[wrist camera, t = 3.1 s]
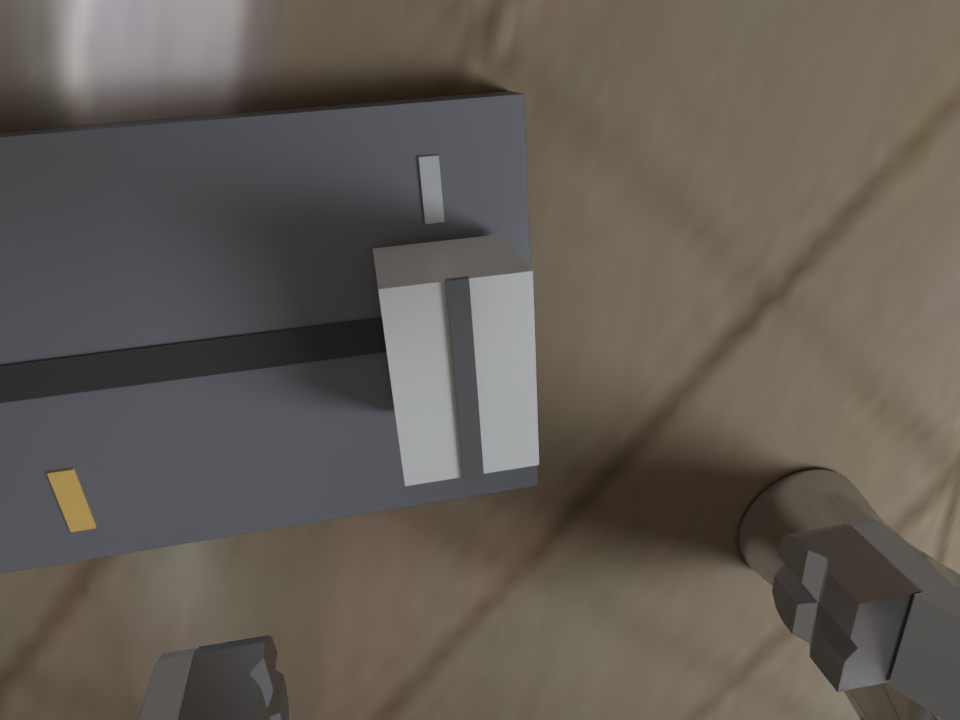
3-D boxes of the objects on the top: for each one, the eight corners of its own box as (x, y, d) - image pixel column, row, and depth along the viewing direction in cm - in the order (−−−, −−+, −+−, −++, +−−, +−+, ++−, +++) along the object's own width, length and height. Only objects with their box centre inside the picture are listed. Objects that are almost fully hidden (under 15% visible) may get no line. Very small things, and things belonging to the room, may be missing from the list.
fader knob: (501, 232, 21) (534, 270, 17) (510, 403, 24) (540, 469, 20) (372, 247, 20) (377, 289, 17) (396, 420, 23) (405, 490, 19)
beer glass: (712, 582, 32) (971, 955, 19) (750, 459, 30) (1085, 792, 16) (837, 576, 34) (1160, 920, 20) (884, 458, 31) (1294, 765, 18)
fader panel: (509, 90, 22) (524, 94, 20) (525, 457, 27) (538, 487, 26) (-184, 147, 19) (-243, 157, 17) (-1, 540, 25) (-30, 580, 23)
